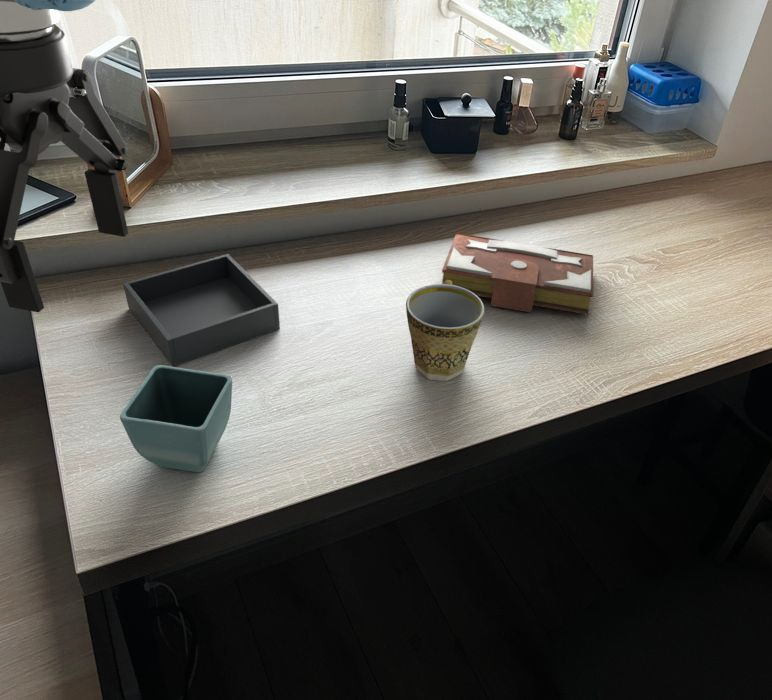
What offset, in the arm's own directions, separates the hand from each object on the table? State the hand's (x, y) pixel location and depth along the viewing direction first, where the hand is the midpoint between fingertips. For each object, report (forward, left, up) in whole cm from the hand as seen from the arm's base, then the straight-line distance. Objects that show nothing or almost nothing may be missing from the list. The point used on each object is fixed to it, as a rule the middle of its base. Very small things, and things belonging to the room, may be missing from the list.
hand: (73, 267), depth 67 cm
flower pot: (+5, -6, -24) cm, 25 cm away
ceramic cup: (+40, -8, -24) cm, 47 cm away
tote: (+17, +17, -23) cm, 34 cm away
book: (+62, 0, -24) cm, 66 cm away
